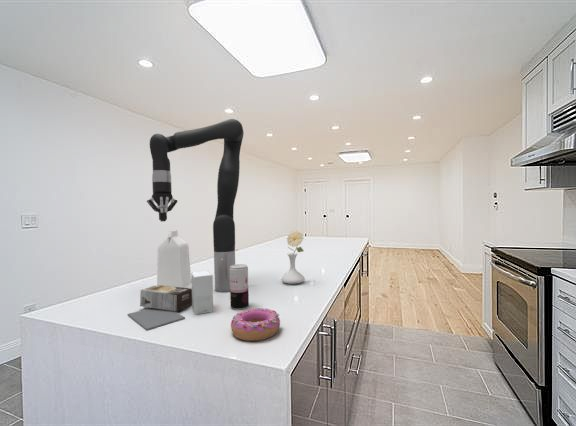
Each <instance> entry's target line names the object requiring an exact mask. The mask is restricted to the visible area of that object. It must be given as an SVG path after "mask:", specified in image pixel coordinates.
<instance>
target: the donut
mask: <svg viewBox="0 0 576 426" xmlns="http://www.w3.org/2000/svg"><path fill="white" fill-rule="evenodd" d="M280 324H281V320H280V314H279V313H277V311H276V310H272V309H269V308H263V307H256V308H254V307H253V308H245V309H243V310H241V311H240V312H238V313H236V314H235V315H233V316H232V319H231V322H230V330H231V332H232V334H233V335H234V337H236V338H237V339H239V340H243V341H249V342H254V341H255V342H256V341H262V340H266V339H268V338H270V337H273V336H274V335H275V334H277V332H278V331H279V328H280V326H281V325H280Z"/></svg>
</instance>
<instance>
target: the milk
mask: <svg viewBox="0 0 576 426" xmlns="http://www.w3.org/2000/svg"><path fill="white" fill-rule="evenodd" d="M189 249H190V246H189V244H188V243H187V242H186V241H185V240H184V239H183V238H182V237H180V236H179V233H178V230H176V229H175V230H174V229H172V230H169V231H168V236H167V237H166V238H165V239H164V240H163V242H162V243H161V244H160V245H159V246H158V248H157V259H156V260H157V261H156V262H157V263H156V267H157V269H156V274H157V275H156V285H163V286H173V287H181V288H185V287H186V286H187V285H189V284H191V283H192V281H191V273H192V272H191V271H192V270H191V262H190V261H191V260H190V259H191V258H190V250H189ZM188 283H189V284H188ZM184 286H185V287H184Z"/></svg>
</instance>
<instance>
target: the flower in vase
mask: <svg viewBox="0 0 576 426" xmlns="http://www.w3.org/2000/svg"><path fill="white" fill-rule="evenodd" d="M303 241H304V237H303V232H301V231H299V230H295V231H292V232H290V233H289V234H288V235H287V238H286V242H287V245H288V246H287V247H288V249H290V250H291V251H293V252H289V253H287V257H288V258H289V264H290V266H289V267H290V268H289V269H288V271H287V272H285V273H284V274H283V275H282V276H281V279H280V280H281V282H282V283H285V284H290V285H292V284H300V283H303V282H304V281H305V280H306V278H305V276H304V275H303V273H300V272H299V271H298V270H297V268H296V258H297V256H298V253H302V252H304V249H303V247H302V246H299V245H301V244H302V243H303ZM289 246H291V247H294V248H295V247H296V248H295V249H292V248H290V247H289ZM298 246H299V247H298ZM296 251H297V253H296Z"/></svg>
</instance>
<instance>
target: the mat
mask: <svg viewBox="0 0 576 426" xmlns="http://www.w3.org/2000/svg"><path fill="white" fill-rule="evenodd" d="M127 316H128V317H129V318H130V319H131V320H133V321H134V322H135V323H136V324H138V325H139V326H140V327H142V328H143V329H144V330H145V331H150V330H152V329H153V330H154V329H157V328H159V327H164V326H166V325H169V324H173V323H176V322H179V321H182V320H185V319H186V317H185V316H184V315H182V314H180V313H179V312H176V311H169V310H162V309H155V308H149V307H148V308H145V309H142V310H138V311H134V312H130V313H129V312H128V313H127Z"/></svg>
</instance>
